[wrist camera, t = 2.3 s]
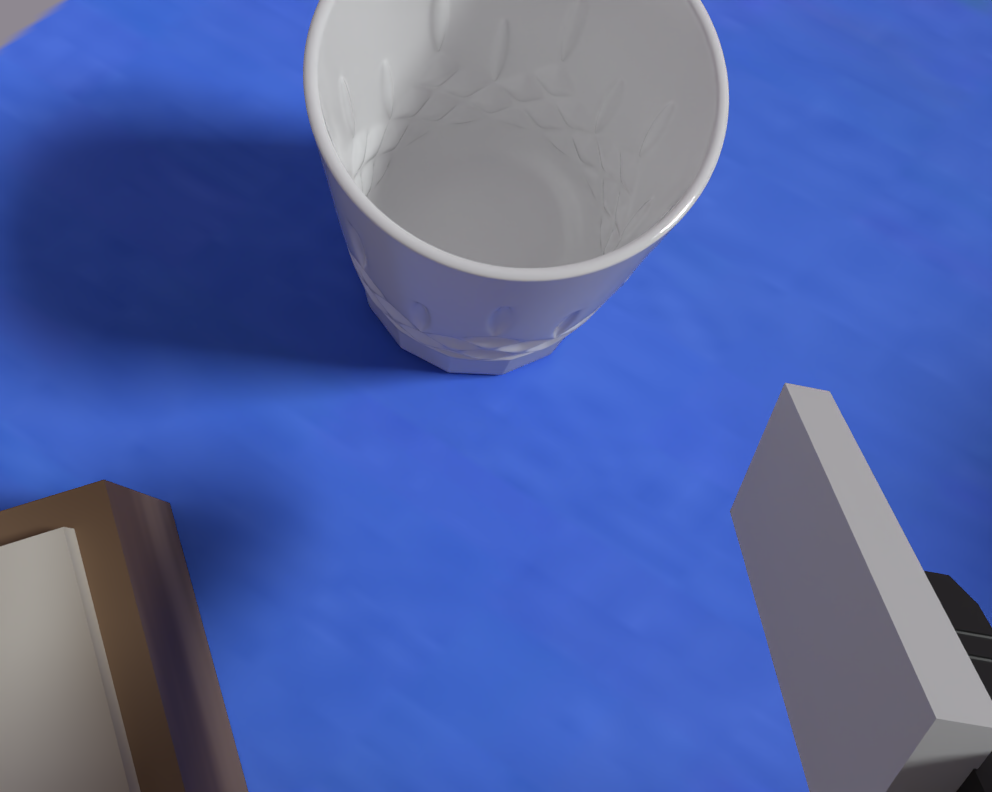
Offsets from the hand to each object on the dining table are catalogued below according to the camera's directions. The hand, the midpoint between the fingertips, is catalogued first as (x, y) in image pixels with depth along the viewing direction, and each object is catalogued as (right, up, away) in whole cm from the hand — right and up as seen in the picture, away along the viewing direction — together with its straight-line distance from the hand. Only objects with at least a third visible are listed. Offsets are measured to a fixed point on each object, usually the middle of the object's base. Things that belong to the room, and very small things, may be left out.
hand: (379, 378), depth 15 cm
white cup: (+1, +3, +12) cm, 12 cm away
